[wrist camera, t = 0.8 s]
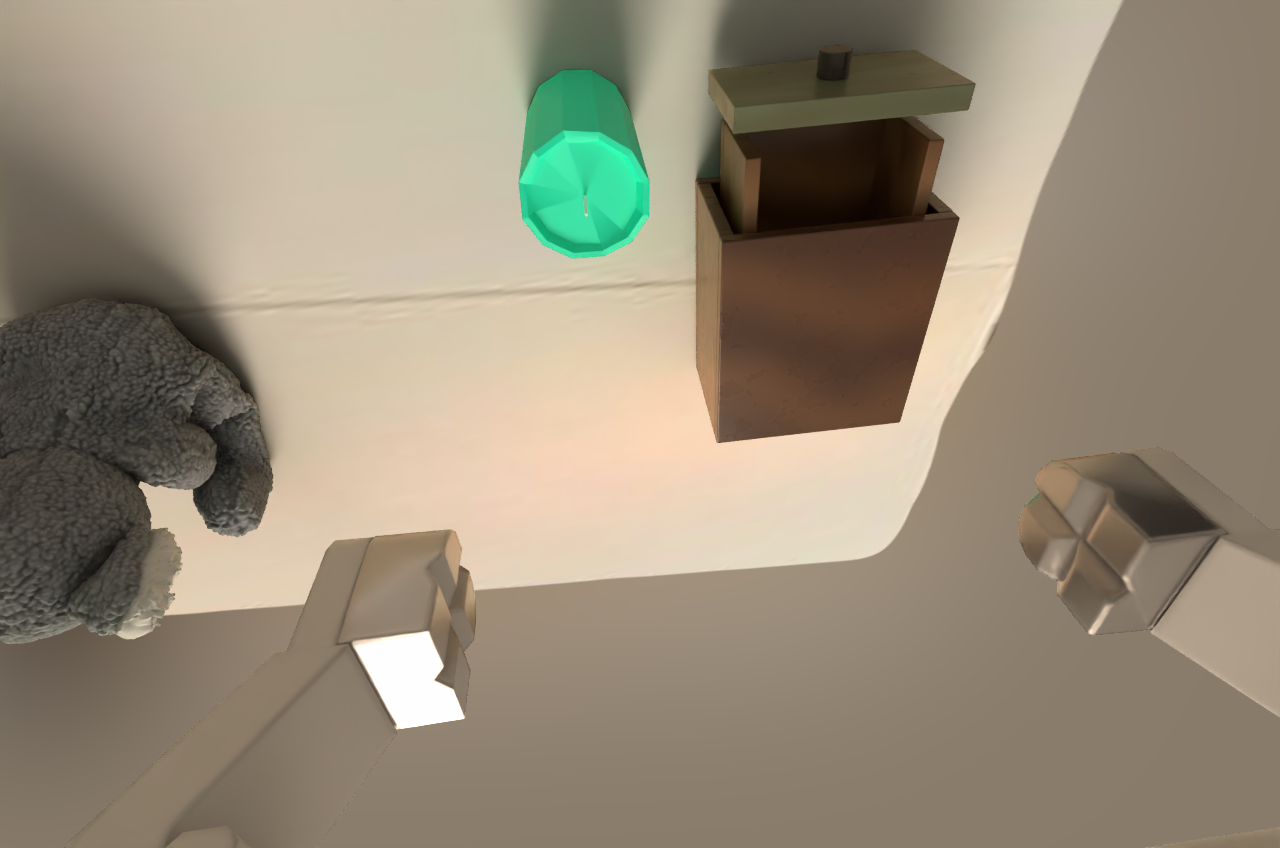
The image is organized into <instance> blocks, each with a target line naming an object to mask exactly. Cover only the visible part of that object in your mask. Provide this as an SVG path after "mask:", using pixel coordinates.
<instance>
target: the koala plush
mask: <svg viewBox="0 0 1280 848" xmlns="http://www.w3.org/2000/svg"><path fill="white" fill-rule="evenodd" d="M224 365H225V364H224V363H221V362H220V361H219V360H218V359H216V358H213V357H212V356H211V355H210V354H208V353H207V352H202V351H201V350H200V349H198V348H196V346H193V345H192V344H191V343H190V341H187V338H186V337H185V336H183V335H182V334H181V333H180V332H179V331H178V330H177V329H176V328H175V327H174V324H173V323H172V322H171V319H170V317H169V316H167V315H166V314H164V313H160V312H159V310H158V309H157V308H151V307H148V306H144V305H141V304H136V303H134V304H133V303H131V304H129V303H125V304H122V303H119V302H118V301H106V300H102V299H99V298H96V299H91V298H88V299H81V300H80V301H76V302H71V303H68V304H66V305H60V306H57V307H54V308H49V309H47V310H42V311H37V312H36V313H30V314H26V315H24V317H22V318H18V319H15V320H13V321H11V322H8V323H7V324H5V325H3V326H2V327H0V640H2V641H3V642H4V643H7V644H12V643H25V642H33V641H35V640H37V639H42V638H45V637H50V636H52V635H57V634H61V633H62V632H63V631H68V630H69V629H72V628H74V627H76V626H77V625H80V624H82V623H85V624H86V625H87V627H88V629H89V631H90V632H97V634H98V635H101V636H104V635H107V634H109V635H112V634H114V633H116V635H118V636H120V637H122V638H124V639H135V638H137V637H140V636H143V635H145V634H146V633H148V632H152V630H153V629H154V628H155V625H157V626H161V625H160V623H158V622H157V618H158V617H159V618H163V615H164V613H165V610H167V609H169V608H168V607H169V606H170V604H171V603H172V601H173V600H174V599H175V598H174V597H173V596H175V593H173V594H171V593H168V591H169V590H170V588H171V586H172V585H173V584H172V582H173V580H174V579H175V577H176V576H178V575H179V572H180V571H181V567H182V563H181V562H180V560H181V554H182V551H181V548H180V547H177V546H176V545H177V543H176V542H175V540H174V536H175V535H174V534H171V532H168V530H167V529H168V528H160V529H151V521H150V518H151V513H150V510H149V508H148V506H147V503H146V497H145V496H144V493H143V491H142V490H141V489H140V488H139V487H138V485H139V483H140V481H142V482H145V483H148V484H149V485H151V486H154V487H157V486H159V485H161V486H164V487H167V488H175V489H184V490H189V489H193V496H194V498H193V501H194V503H195V506H196V507H197V508H198V509H197V510H198V512H199V513H200V515H202V516H203V519H204V520H205V524H206V525H207V528H208V529H213V532H218V533H219V534H220V535H222V536H223V535H225V534H226V535H227V536H236V537H239V536H240V535H241V536H243V535H245V534H246V533H247V532H248V531H252V530H254V529H257V528H258V525H259V524H260V522H261V519H262V516H263V514H264V511H265V508H266V505H267V499H268V497H269V493H270V492H271V491H272V489H273V487H272V484H273V481H272V479H273V474H272V468H271V467H270V462H269V461H268V460H269V459H270V458H269V456H268V455H267V452H266V447H265V445H266V443H265V442H264V441H263V436H262V434H261V431H260V423H259V417H260V416H259V414H258V411H259V410H258V408H257V404H256V403H255V402H253V398H252V397H251V396H250V394H249V393H244V391H242V390H241V387H240V382H239V380H237V378H236V377H235V376H234V375H233V372H231V371H230V370H229V369H228V368H226V367H225V366H224Z"/></svg>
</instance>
